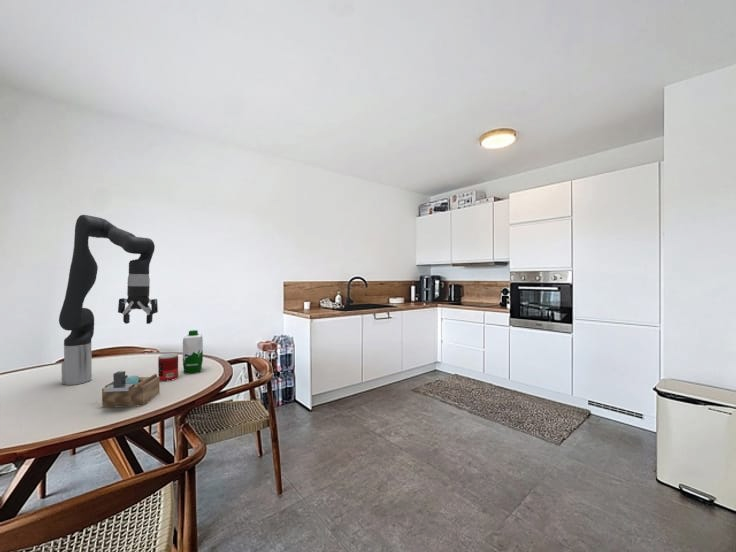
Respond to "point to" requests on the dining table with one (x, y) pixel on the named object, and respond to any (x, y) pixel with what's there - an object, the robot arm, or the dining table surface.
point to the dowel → (132, 380)
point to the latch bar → (119, 383)
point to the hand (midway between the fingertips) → (137, 323)
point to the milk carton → (192, 352)
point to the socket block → (132, 393)
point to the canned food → (168, 366)
